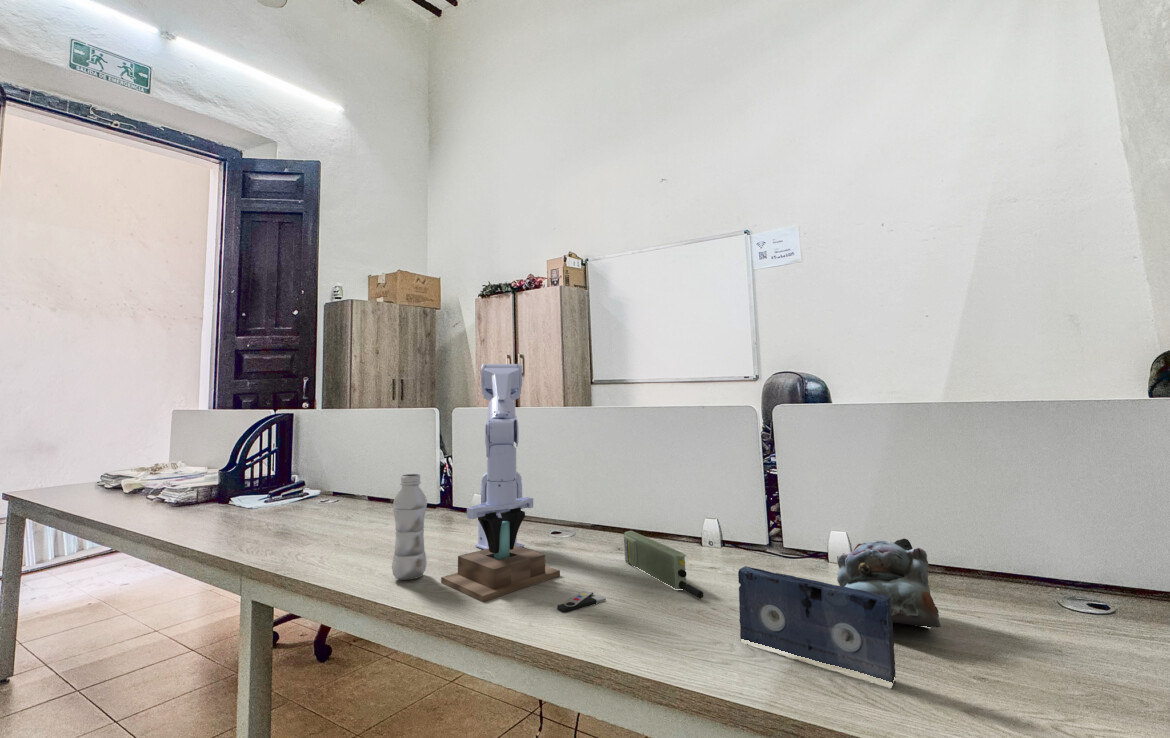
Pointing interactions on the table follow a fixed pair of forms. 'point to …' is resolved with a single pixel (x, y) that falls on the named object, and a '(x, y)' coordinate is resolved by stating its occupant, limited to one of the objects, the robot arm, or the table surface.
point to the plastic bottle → (409, 529)
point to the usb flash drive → (580, 602)
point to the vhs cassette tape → (818, 621)
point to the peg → (504, 542)
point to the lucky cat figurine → (892, 579)
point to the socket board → (494, 593)
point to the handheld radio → (658, 561)
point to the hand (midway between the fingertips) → (501, 550)
